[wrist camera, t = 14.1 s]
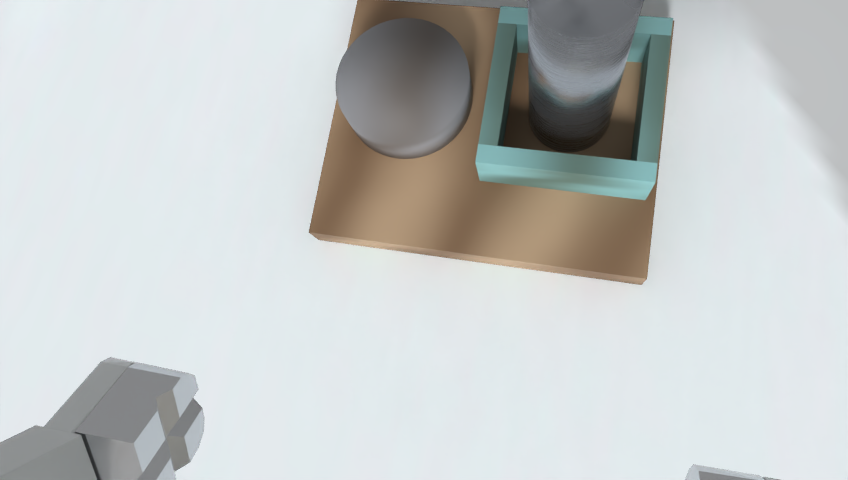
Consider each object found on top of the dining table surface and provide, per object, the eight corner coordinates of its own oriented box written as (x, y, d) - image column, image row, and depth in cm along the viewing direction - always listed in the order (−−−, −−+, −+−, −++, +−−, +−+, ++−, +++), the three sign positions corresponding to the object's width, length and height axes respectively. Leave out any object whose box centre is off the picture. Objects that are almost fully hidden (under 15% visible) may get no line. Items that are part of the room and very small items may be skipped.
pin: (523, 148, 31) (520, 32, 21) (534, 74, 32) (535, -69, 22) (605, 156, 30) (640, 41, 21) (614, 81, 31) (652, -64, 21)
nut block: (318, 239, 33) (290, 218, 29) (364, 14, 35) (344, -33, 32) (641, 284, 30) (657, 267, 26) (667, 37, 33) (686, -12, 29)
